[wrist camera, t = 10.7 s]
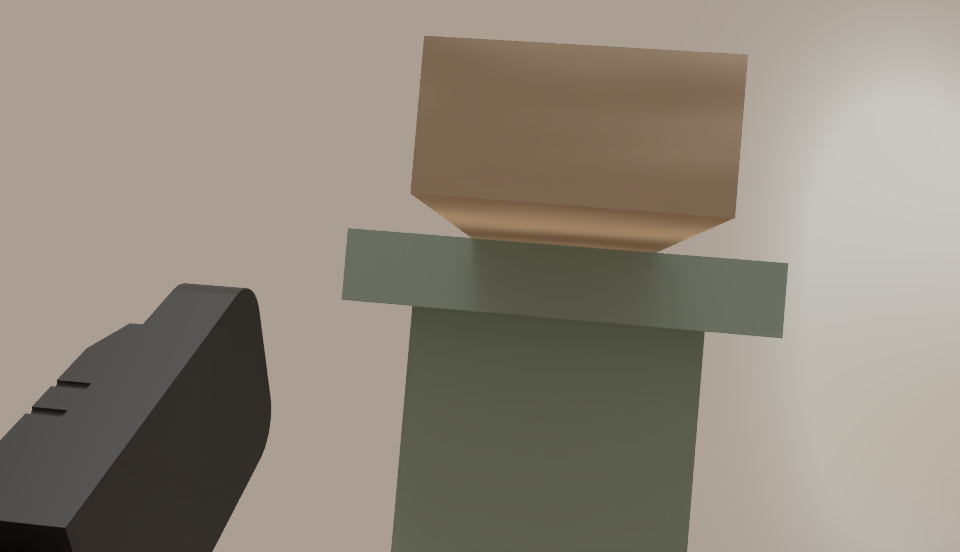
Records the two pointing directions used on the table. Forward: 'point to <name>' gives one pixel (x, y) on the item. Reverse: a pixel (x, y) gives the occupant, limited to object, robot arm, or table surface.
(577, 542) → the shelf stand
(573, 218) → the wooden plank
